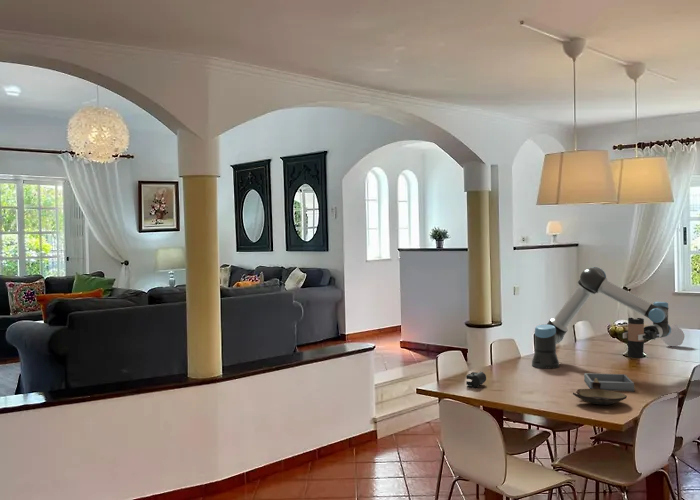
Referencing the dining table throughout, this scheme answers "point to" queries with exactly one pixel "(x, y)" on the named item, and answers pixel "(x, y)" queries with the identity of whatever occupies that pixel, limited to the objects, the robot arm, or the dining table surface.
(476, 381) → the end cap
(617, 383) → the parts tray
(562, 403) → the dining table surface
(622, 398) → the oil lamp
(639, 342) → the travel mug
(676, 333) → the decorative ball
